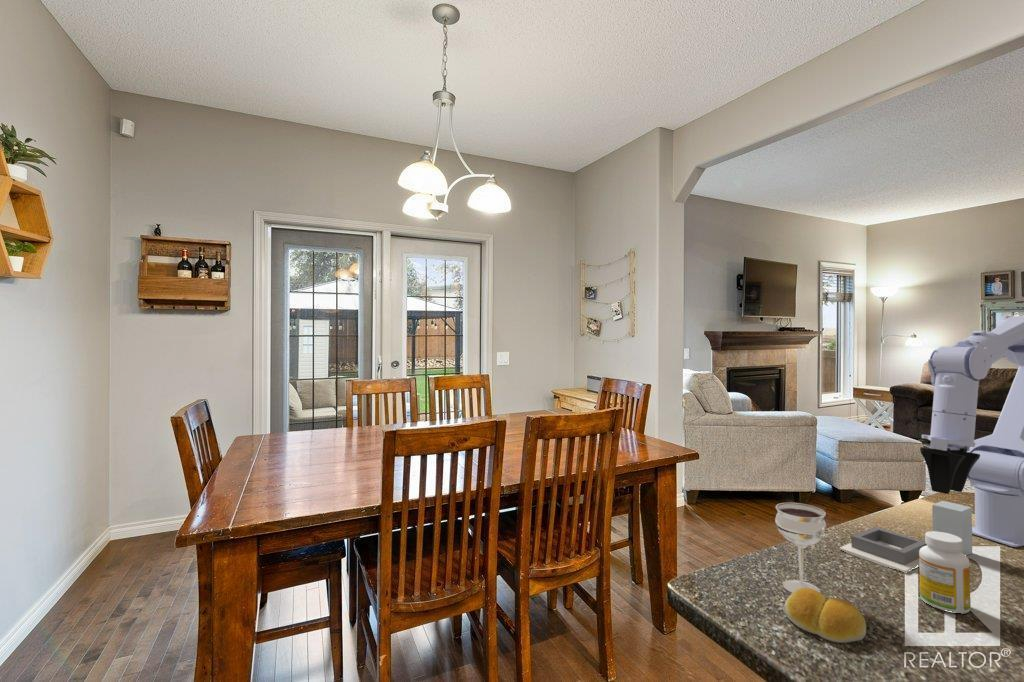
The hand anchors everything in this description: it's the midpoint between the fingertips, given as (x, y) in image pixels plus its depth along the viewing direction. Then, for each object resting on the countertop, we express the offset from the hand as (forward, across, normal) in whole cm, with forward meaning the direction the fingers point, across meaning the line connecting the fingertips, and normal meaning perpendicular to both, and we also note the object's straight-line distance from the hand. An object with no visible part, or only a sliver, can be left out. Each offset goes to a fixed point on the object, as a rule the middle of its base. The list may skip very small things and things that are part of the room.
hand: (947, 491), depth 85 cm
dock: (+12, +7, -5) cm, 15 cm away
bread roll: (+17, +38, -3) cm, 41 cm away
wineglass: (+16, +30, -9) cm, 36 cm away
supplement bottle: (+14, +20, +5) cm, 25 cm away
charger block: (+10, -3, +1) cm, 11 cm away
